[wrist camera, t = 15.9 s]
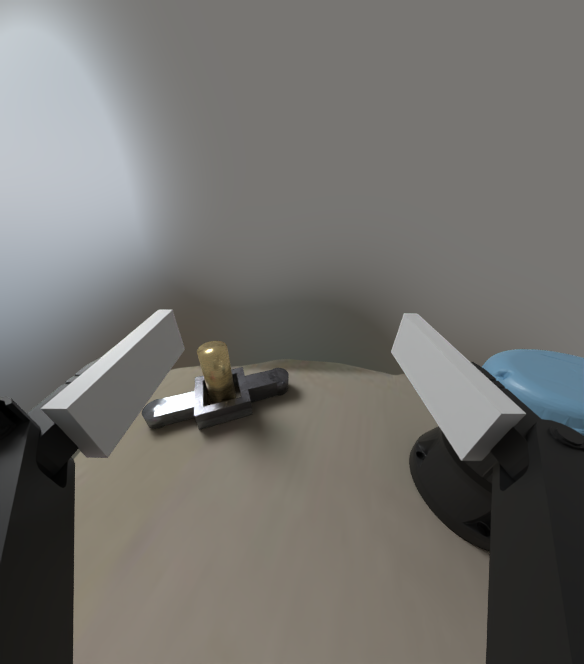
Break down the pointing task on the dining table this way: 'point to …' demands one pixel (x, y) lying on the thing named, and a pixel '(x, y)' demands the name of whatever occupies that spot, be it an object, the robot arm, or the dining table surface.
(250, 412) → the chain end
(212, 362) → the gold tall cylinder
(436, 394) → the robot arm
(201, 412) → the chain end
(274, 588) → the dining table surface
